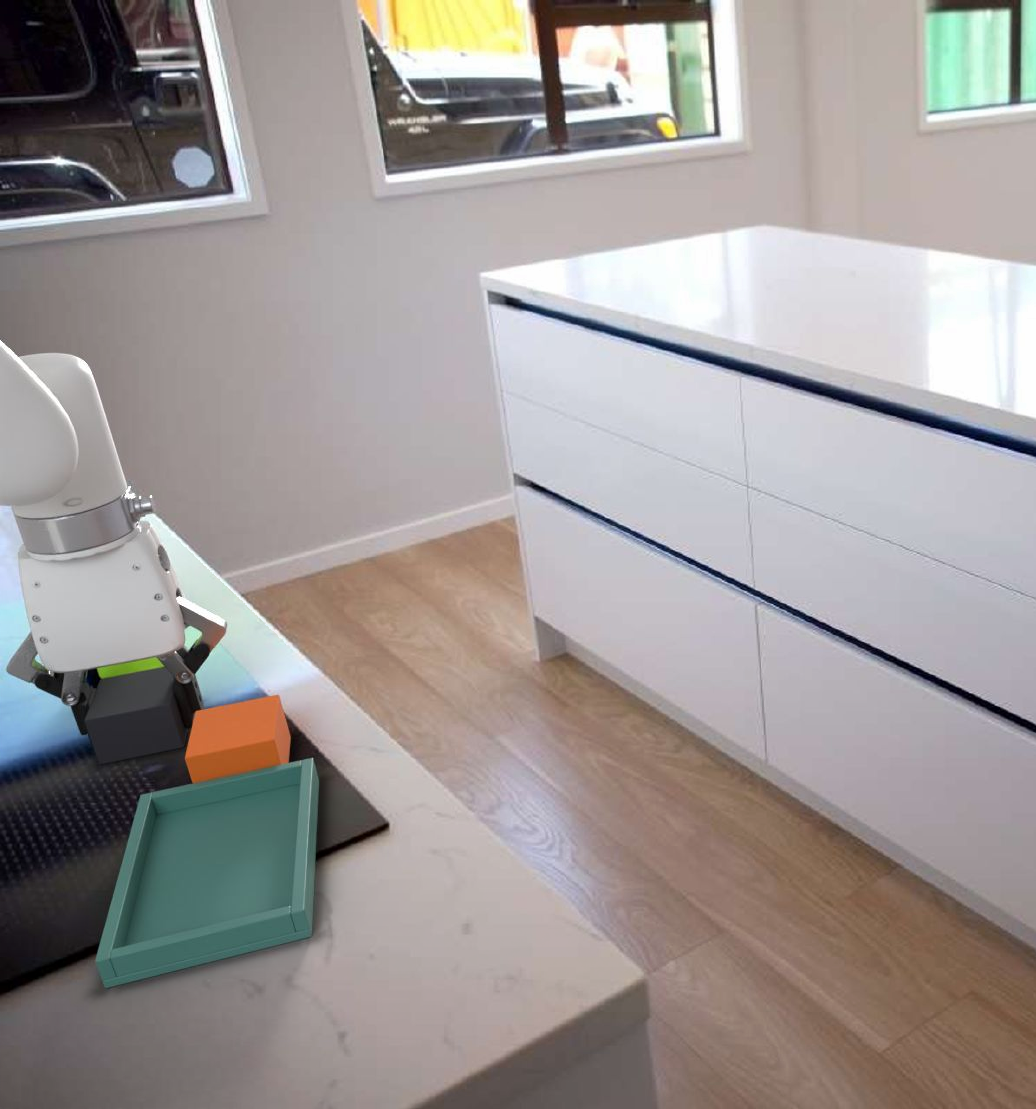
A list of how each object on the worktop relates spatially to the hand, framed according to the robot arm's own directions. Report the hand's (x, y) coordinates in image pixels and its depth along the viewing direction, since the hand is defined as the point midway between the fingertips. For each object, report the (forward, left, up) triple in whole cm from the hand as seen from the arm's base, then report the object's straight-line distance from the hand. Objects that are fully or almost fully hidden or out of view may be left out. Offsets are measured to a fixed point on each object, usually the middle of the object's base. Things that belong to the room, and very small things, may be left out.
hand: (146, 727), depth 101 cm
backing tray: (+7, -22, -1) cm, 23 cm away
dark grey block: (0, 0, -1) cm, 1 cm away
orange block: (+8, -9, -1) cm, 12 cm away
